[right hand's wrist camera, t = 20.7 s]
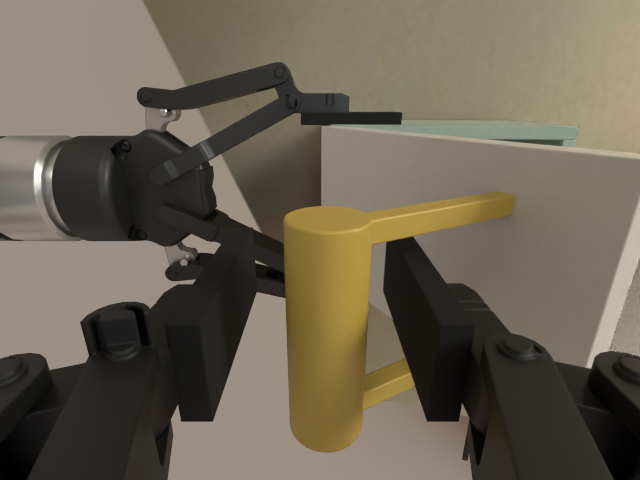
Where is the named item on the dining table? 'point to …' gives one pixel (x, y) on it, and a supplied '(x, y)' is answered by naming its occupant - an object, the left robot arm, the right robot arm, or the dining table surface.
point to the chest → (487, 130)
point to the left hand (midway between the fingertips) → (392, 189)
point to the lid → (451, 255)
